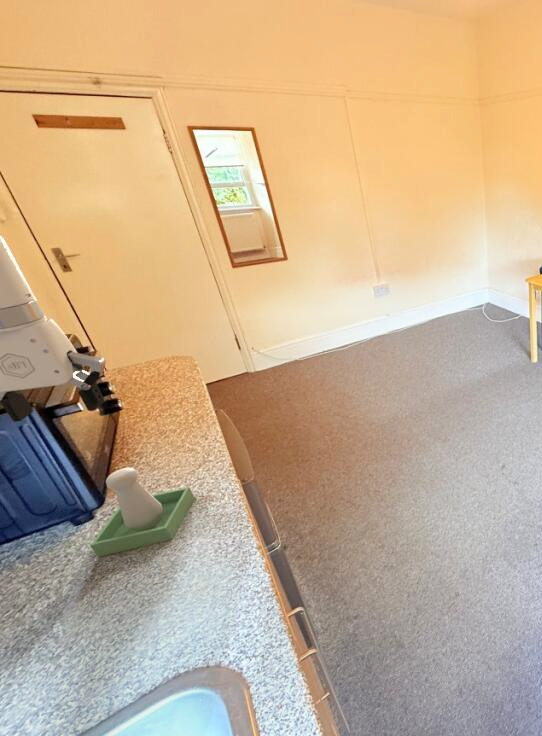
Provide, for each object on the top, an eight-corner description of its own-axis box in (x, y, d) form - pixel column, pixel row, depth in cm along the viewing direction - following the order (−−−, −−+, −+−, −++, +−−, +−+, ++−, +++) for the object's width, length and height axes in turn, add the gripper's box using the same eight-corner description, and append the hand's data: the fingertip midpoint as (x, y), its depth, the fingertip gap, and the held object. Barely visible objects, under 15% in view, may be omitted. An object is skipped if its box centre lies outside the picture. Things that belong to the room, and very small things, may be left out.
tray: (97, 557, 73) (89, 545, 72) (129, 511, 83) (123, 500, 81) (172, 539, 76) (166, 528, 75) (194, 497, 86) (189, 486, 84)
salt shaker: (137, 516, 81) (108, 467, 75) (171, 507, 82) (144, 459, 77) (123, 539, 76) (91, 488, 70) (160, 529, 77) (130, 479, 72)
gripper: (-100, 332, 54) (-26, 434, 61) (61, 318, 58) (111, 414, 66) (-49, 314, 60) (12, 409, 67) (92, 303, 65) (135, 392, 72)
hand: (61, 411), depth 66 cm, fingers open, 9 cm apart
